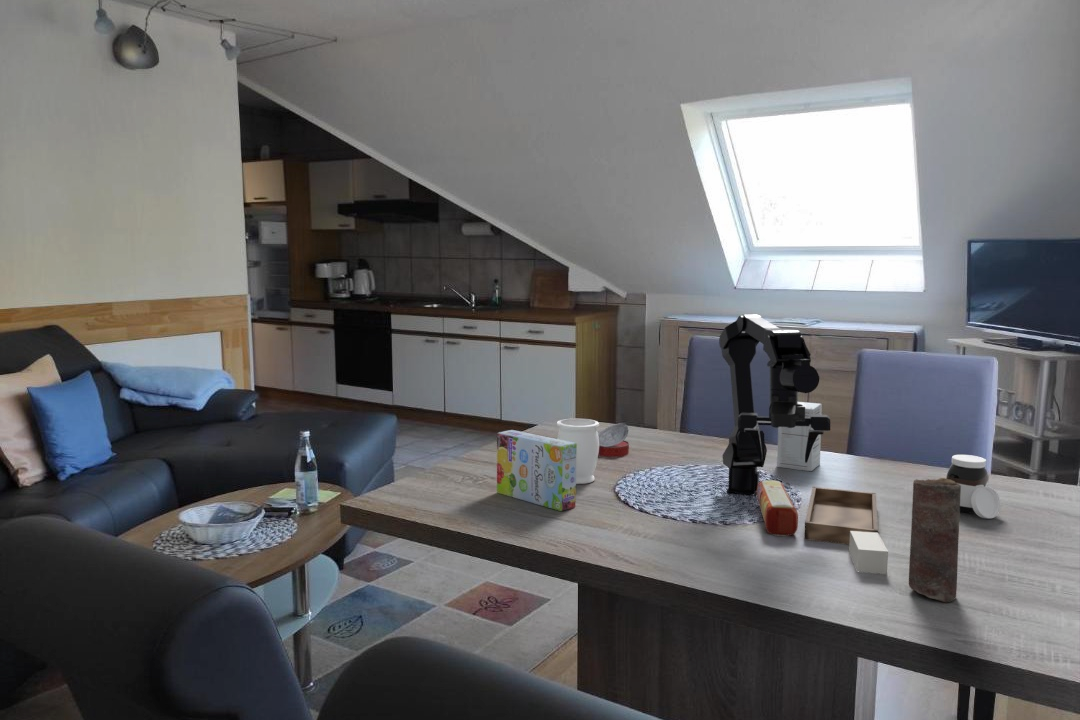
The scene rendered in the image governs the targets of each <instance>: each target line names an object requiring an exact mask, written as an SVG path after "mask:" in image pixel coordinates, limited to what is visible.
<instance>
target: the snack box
mask: <svg viewBox="0 0 1080 720" xmlns="http://www.w3.org/2000/svg"><path fill="white" fill-rule="evenodd" d="M576 450H577V443H574V442H569V441H564V440H559V439H557V438H553V437H548V436H544V435H540V434H539V435H538V434H534V433H529V432H525V431H521V430H520V431H519V430H514V429H510V430H509V429H508V430H504V431H499V432H497V433H496V493H497V494H500V495H504V496H507V497H510V498H514V499H518V500H521V501H524V502H528V503H531V504H535V505H538V506H542V507H545V508H548V509H553V510H555V511H559V512H563V511H566V510H567V511H568V510H571V509H574V508H575V507H576V502H577V501H576V496H577V493H576V492H577V490H576V489H577V484H576Z"/></svg>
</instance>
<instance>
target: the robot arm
mask: <svg viewBox="0 0 1080 720" xmlns="http://www.w3.org/2000/svg"><path fill="white" fill-rule="evenodd" d="M718 339H719V340H718V345H719V347H720V350H721V355H722V358H723V359H724V360H725V362H726V363H727V364H728V366H729V371H730V383H731V385H730V386H731V394H732V397H731V398H732V406H733V407H732V409H733V420H734V426H733V428H732V430H731V433H730V434H729V436H728V445H727V446H726V448H725V450H724V452H723V454H722V463H723V465H724V466H726V467H727V468H728V483H727V484H728V486H727V487H728V488H727V489H726V492H727V493H731V492H736V493H735V494H740V493H746V494H745V495H750V494H754V495H756V493H757V486H758V483H759V482H760V471H758V468H764V465H765V463H766V462H765V461H766V457H767V453H768V449H767V445H766V442H765V433H764V430H762V429H761V430H760V426H771V427H772V428H776V429H778V427H788V428H794V427H795V426H809V429H808V437H807V444H806V451H805V463H807V461H808V458H809V455H810V452H811V449H812V447H813V444H814V442H815V440H816V438H817V437H818V435H820V434H821V436H822V435H824V433H825V432H826V431H827V432H828V431H831V418H830V416H829V415H828V414H810V418H805V404H798V402H799V400H798V399H799V395H798V393H802V394H810V393H812V392H813V391H815V390H816V389H817V387H818V386H819V384H820V375H819V373H818V371H817V369H816V368H815V367H814V366H812V365H811V361H812V359H811V352H810V350H809V348H808V347H807V344H806V341H805V339H804V336H802V333H801V332H800V330H798V329H793V328H781V327H778V326H777V325H775V324H773V323H771V322H769V321H767V320H766V319H765V318H763V317H762V316H761V315H759V314H756V313H755V314H753V313H752V314H741V315H739V316H738V317H737V319H736V320H735V321H733V322H732V323H730V324H728V325H726V326H725V328H724V329H723V330H722V331H721V333H720V334H719V338H718ZM759 343H762V344H763V347H762V350H763V352H765V353H766V354H767V356H768V358H769V360H768V362H767V363H766V366H767V367H769V407H768V416H759V415H758V414H759V413H758V412H755V408H754V395H753V382H752V372H751V370H752V369H751V363H752V361H753V360H754V357H755V356H756V354H757V346H758V345H759ZM824 431H825V432H824Z"/></svg>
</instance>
